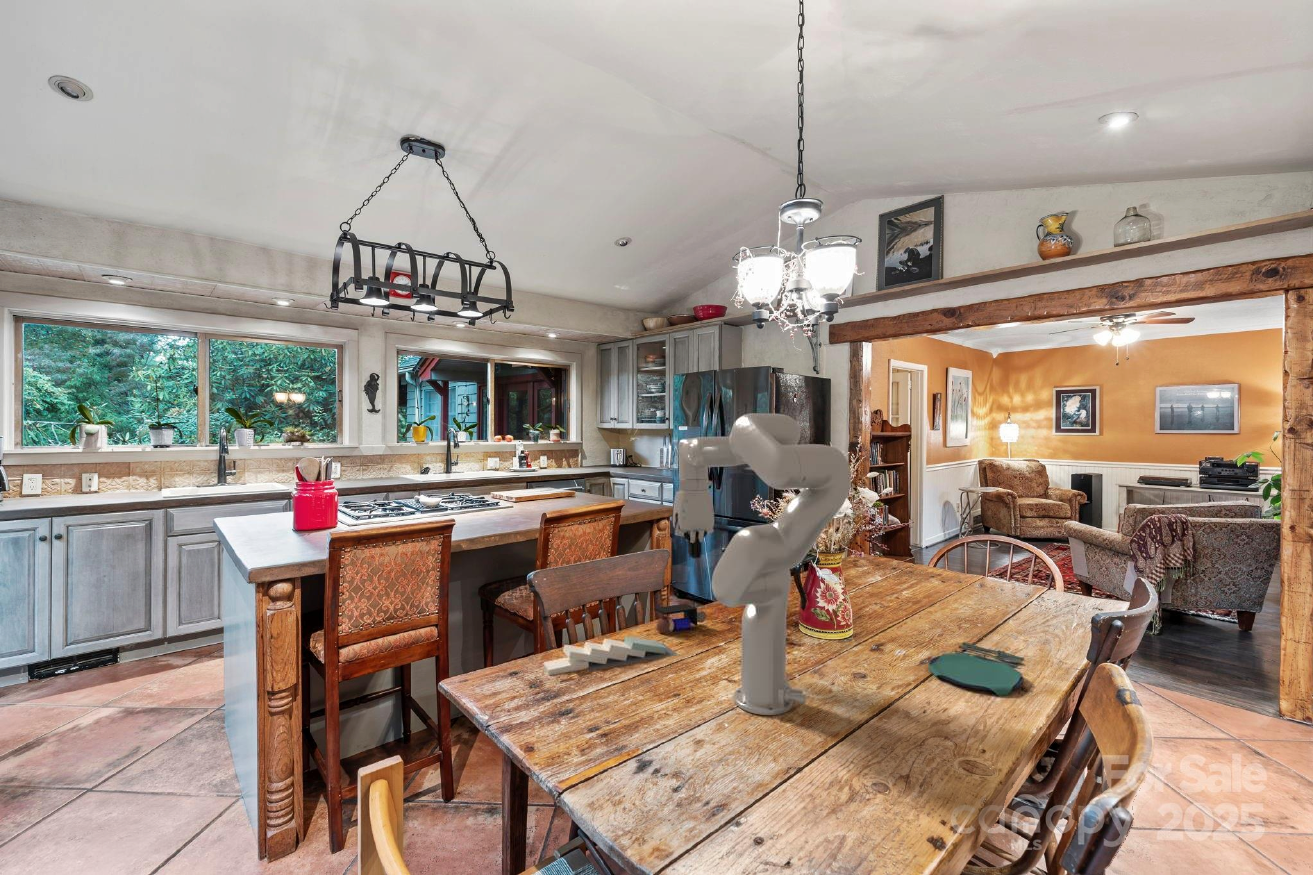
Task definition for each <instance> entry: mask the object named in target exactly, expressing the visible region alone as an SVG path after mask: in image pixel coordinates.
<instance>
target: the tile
mask: <svg viewBox="0 0 1313 875" xmlns="http://www.w3.org/2000/svg"><path fill="white" fill-rule="evenodd" d="M623 642H624V643H625V644H626V645H628V646H629V647H630V648H631V649H635V650H642V651H649V652H655V653H662V654H665V653H666V649H667V648H666V647H665V646H664V645H663V644H664V643H663V644H662V642H660V641H657V640H651V639H645V638H640V637H632V636H626V635H625V637H624V641H623Z"/></svg>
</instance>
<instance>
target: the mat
mask: <svg viewBox="0 0 1313 875" xmlns="http://www.w3.org/2000/svg"><path fill="white" fill-rule="evenodd" d="M661 644H663V645H664V646H665V647H666V648H667V649H666V653H665V654H662V653H655V652H649V651H646V652H645V655H644V658H643V657H638V656H632V655H627V658H626V661H623V660H617V659H612V658H607V662H606V664H601V663H595V662H589V661H588V665H589V668H587V670H588V671H589V672H594V671H599V670H605V669H609V668H615V667H620V666H626V665H631V664H632V665H633V664H636V663H643V662H647V661H653V660H660V659H663V658H669V657H675V656H678V654H677V652H675V651H674V650H672V649H671V648H670V647H668V646H667V645H666V643H662V642H661Z"/></svg>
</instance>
